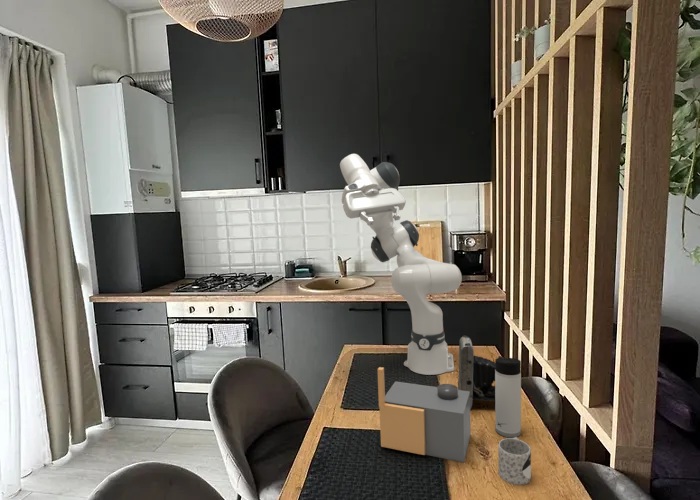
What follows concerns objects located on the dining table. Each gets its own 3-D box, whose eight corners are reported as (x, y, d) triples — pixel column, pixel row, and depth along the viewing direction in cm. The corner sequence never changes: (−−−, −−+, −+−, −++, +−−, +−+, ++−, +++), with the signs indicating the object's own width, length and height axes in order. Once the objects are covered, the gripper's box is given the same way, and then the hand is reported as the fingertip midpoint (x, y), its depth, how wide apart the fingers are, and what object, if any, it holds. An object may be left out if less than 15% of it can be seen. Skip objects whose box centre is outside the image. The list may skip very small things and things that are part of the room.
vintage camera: (515, 415, 116) (517, 347, 115) (459, 410, 120) (460, 344, 118) (508, 399, 126) (511, 337, 124) (457, 395, 129) (458, 334, 127)
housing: (396, 422, 114) (395, 374, 113) (470, 435, 106) (469, 384, 105) (382, 446, 103) (380, 393, 102) (464, 463, 95) (463, 405, 94)
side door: (382, 444, 103) (379, 367, 101) (425, 452, 98) (423, 372, 96) (380, 447, 101) (377, 369, 99) (424, 456, 97) (422, 374, 95)
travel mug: (498, 438, 105) (498, 363, 103) (493, 424, 111) (492, 353, 109) (524, 439, 104) (524, 363, 102) (517, 425, 110) (517, 354, 108)
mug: (530, 488, 86) (530, 458, 85) (497, 480, 89) (496, 451, 88) (531, 460, 95) (531, 433, 94) (501, 454, 98) (501, 428, 97)
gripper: (392, 193, 139) (410, 223, 131) (336, 202, 131) (353, 233, 124) (397, 179, 134) (416, 209, 127) (340, 187, 126) (357, 219, 119)
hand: (384, 221), depth 125 cm, fingers open, 8 cm apart
